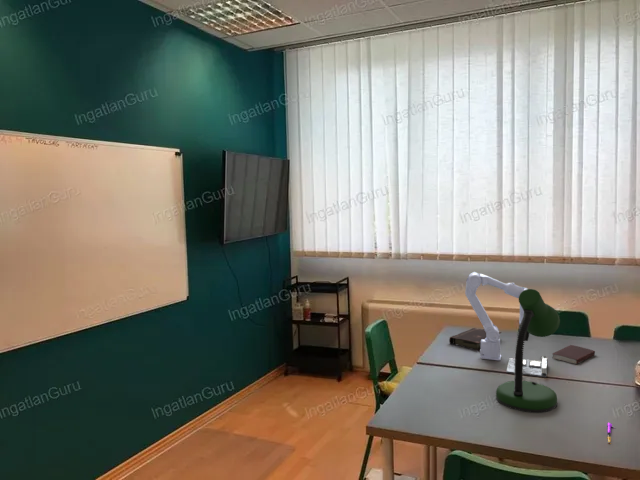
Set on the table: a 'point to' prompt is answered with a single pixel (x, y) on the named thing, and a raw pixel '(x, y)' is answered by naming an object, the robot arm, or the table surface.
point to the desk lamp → (519, 392)
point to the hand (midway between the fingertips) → (525, 340)
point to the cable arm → (544, 363)
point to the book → (573, 354)
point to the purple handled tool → (609, 431)
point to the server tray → (527, 368)
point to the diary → (469, 338)
